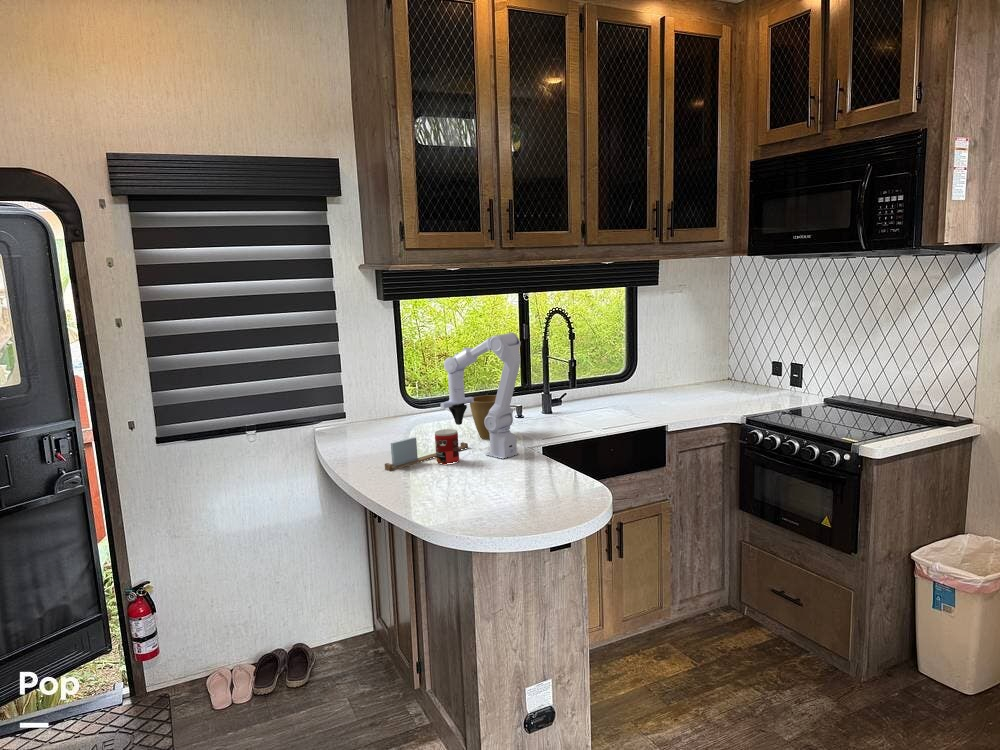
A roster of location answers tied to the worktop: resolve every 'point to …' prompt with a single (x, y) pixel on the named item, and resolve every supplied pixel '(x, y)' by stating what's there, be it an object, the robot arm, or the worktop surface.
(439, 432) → the canned food
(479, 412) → the plant pot
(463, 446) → the rail
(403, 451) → the screen panel
